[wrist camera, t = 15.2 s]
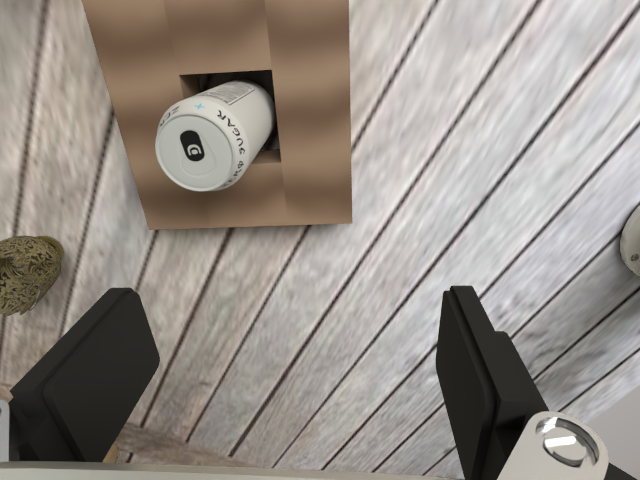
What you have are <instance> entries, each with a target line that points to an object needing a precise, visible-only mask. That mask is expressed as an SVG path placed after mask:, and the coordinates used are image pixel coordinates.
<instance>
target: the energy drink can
mask: <svg viewBox="0 0 640 480" xmlns="http://www.w3.org/2000/svg"><path fill="white" fill-rule="evenodd" d="M275 123H276V109H275V105H274V102H273V100H272V98H271V96H270V95H269V94H268V92H267V91H266V90H265V89H264V88H263V87H261V86H260V85H259V84H257V83H255V82H253V81H250V80H245V79H237V80H232V81H229V82H227V83H224V84H222V85H219V86H217V87H214V88H212V89H209V90H207V91H204V92H202V93H199V94H197V95H194V96H192V97H189V98H187V99H184V100H182V101H179V102H177V103H176V104H174V105H172V106H171V107H170V108H169V109H168V110H167V111H166V112H165V113H164V115H163V117H162V118H161V120H160V123H159V126H158V130H157V136H156V142H155V150H156V156H157V159H158V162H159V164H160V166H161V168H162V170H163V171H164V172H165V174H166V175H167V176H168V177H169V178H170V179H171V180H172V181H174V182H175V183H176V184H178V185H179V186H181V187H184V188H186V189H189V190H192V191H200V192H202V191H218V190H222V189H225V188H227V187H229V186H231V185H233V184H234V183H235V182H237V181H238V180H239V179H240V178H241V176H242V175H243V174H244V172H245V171H246V169H247V168H248V167H249V165H250V164H251V162H252V161H253V159H254V158H255V156H256V155H257V153H258V152H259V151H260V149H261V148H262V146H263V145H264V143H265V142H266V140H267V139H268V137H269V136H270V135H271V133H272V131H273V129H274V127H275Z"/></svg>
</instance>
